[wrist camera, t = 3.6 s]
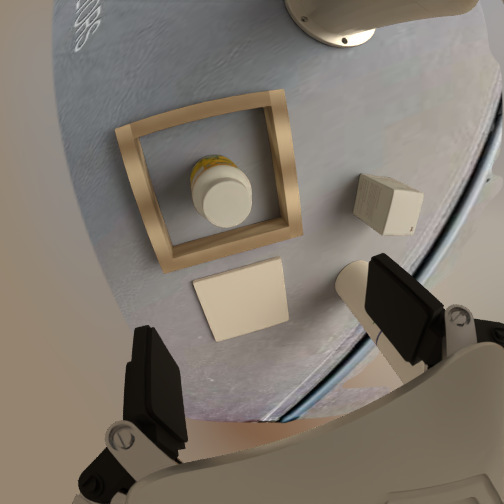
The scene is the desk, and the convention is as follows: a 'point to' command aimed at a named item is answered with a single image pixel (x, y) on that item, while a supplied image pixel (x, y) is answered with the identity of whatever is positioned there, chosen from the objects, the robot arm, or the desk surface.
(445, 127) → the desk surface
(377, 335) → the cylindrical container
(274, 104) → the wooden square frame
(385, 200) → the product box
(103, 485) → the robot arm
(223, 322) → the pad
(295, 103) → the desk surface
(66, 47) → the desk surface
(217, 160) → the supplement bottle
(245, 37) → the desk surface
